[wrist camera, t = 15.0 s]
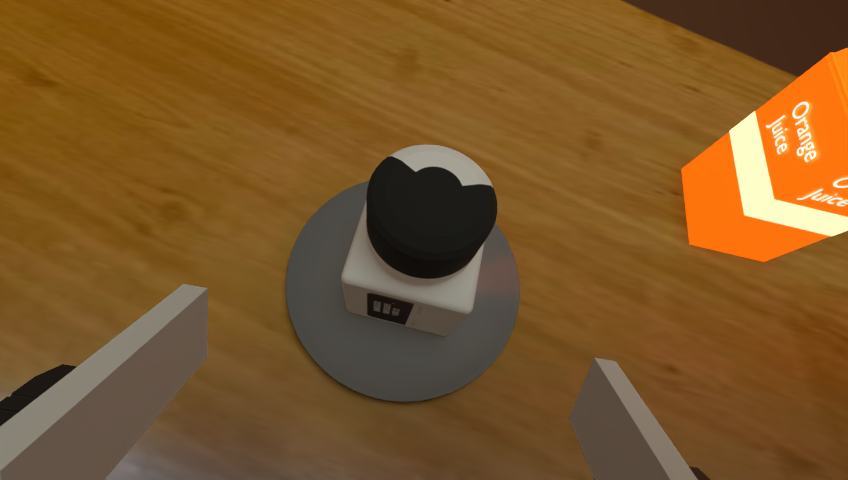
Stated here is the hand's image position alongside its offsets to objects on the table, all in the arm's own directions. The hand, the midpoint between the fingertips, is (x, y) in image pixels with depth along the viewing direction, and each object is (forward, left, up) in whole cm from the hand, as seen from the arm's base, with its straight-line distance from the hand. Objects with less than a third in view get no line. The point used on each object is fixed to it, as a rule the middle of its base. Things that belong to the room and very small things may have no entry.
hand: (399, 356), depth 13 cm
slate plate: (-6, -5, -17) cm, 19 cm away
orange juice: (-36, +7, -17) cm, 40 cm away
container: (-6, -5, -15) cm, 17 cm away
